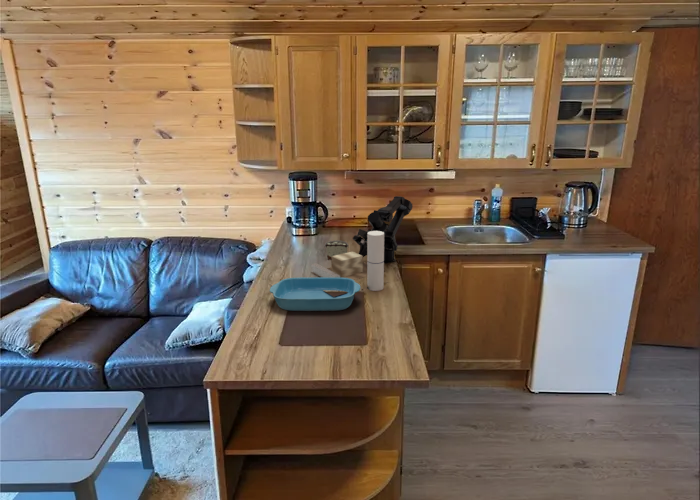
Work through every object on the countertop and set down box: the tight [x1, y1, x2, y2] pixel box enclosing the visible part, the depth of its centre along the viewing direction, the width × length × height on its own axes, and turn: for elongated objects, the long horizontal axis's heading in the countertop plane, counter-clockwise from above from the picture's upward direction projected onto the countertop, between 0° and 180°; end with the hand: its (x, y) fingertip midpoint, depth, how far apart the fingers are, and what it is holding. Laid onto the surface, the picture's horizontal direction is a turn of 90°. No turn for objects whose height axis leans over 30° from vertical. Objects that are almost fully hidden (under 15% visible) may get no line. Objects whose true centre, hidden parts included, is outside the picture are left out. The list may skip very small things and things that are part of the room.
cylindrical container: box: [366, 231, 385, 292], centre depth 203 cm, size 7×7×25 cm
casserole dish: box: [269, 276, 361, 312], centre depth 192 cm, size 37×22×7 cm, turn 88°
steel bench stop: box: [311, 262, 340, 277], centre depth 214 cm, size 2×20×4 cm, turn 36°
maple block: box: [331, 251, 364, 277], centre depth 220 cm, size 12×8×8 cm, turn 126°
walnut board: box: [311, 261, 386, 281], centre depth 222 cm, size 29×20×2 cm
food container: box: [324, 239, 350, 261], centre depth 240 cm, size 12×6×10 cm, turn 84°
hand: (358, 258), depth 223 cm, fingers closed
